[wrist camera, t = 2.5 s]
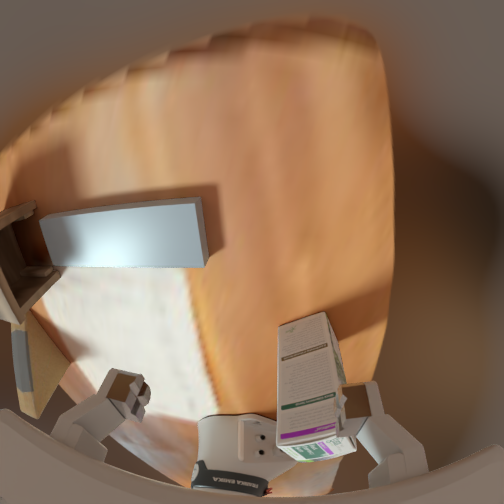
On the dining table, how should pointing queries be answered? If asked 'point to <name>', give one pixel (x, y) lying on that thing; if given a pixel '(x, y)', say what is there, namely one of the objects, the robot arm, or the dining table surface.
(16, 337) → the sandwich container
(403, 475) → the robot arm
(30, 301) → the open wooden box
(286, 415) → the syrup box
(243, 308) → the dining table surface
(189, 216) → the panel
